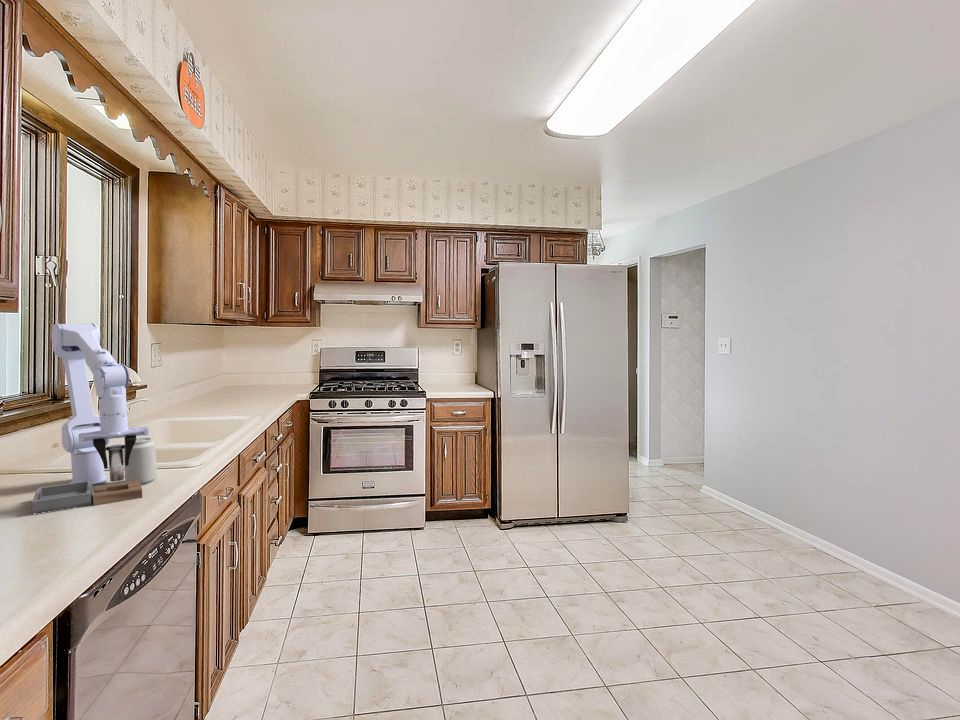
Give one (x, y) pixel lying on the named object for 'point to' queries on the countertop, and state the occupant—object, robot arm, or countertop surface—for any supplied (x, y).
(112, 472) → the pin
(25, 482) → the countertop surface
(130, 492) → the hitch block
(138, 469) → the can
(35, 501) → the tray
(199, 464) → the countertop surface
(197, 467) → the countertop surface
